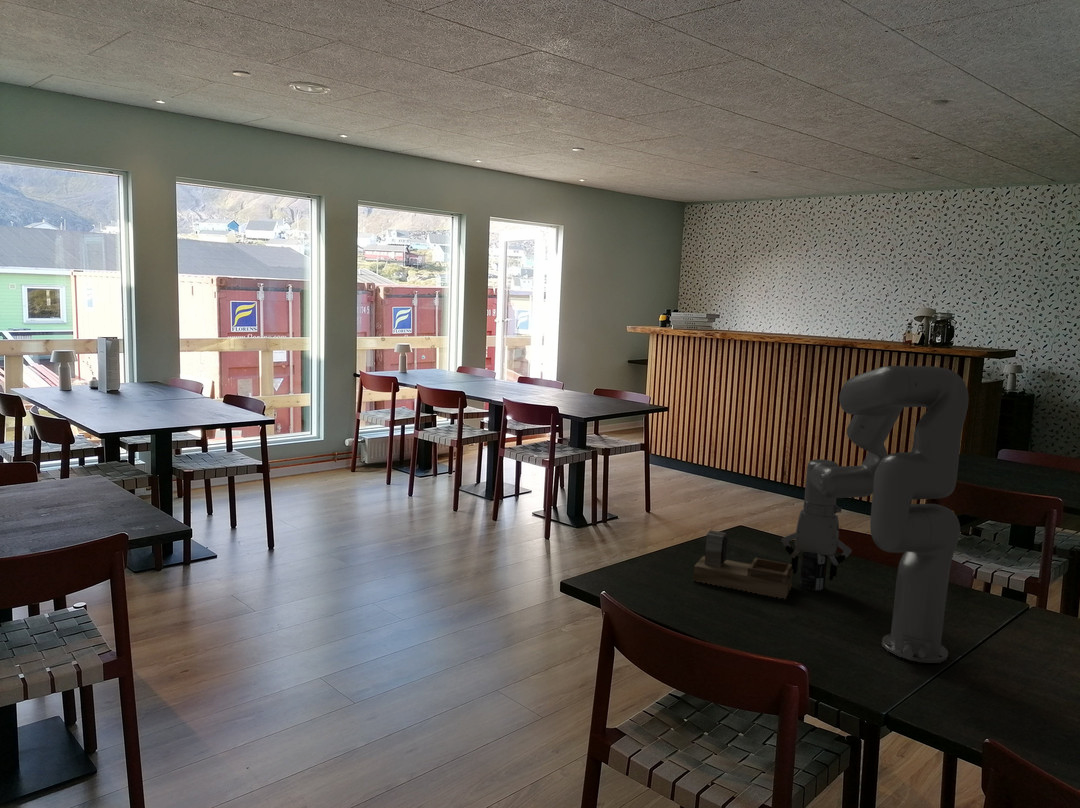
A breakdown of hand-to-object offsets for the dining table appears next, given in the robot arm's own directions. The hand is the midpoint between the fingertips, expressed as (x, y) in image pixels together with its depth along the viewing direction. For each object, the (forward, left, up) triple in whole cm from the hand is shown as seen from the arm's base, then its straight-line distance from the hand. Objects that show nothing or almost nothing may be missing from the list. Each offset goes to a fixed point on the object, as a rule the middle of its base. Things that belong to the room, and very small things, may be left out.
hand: (813, 575), depth 199 cm
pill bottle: (0, 0, -3) cm, 3 cm away
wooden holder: (-8, +16, -3) cm, 18 cm away
